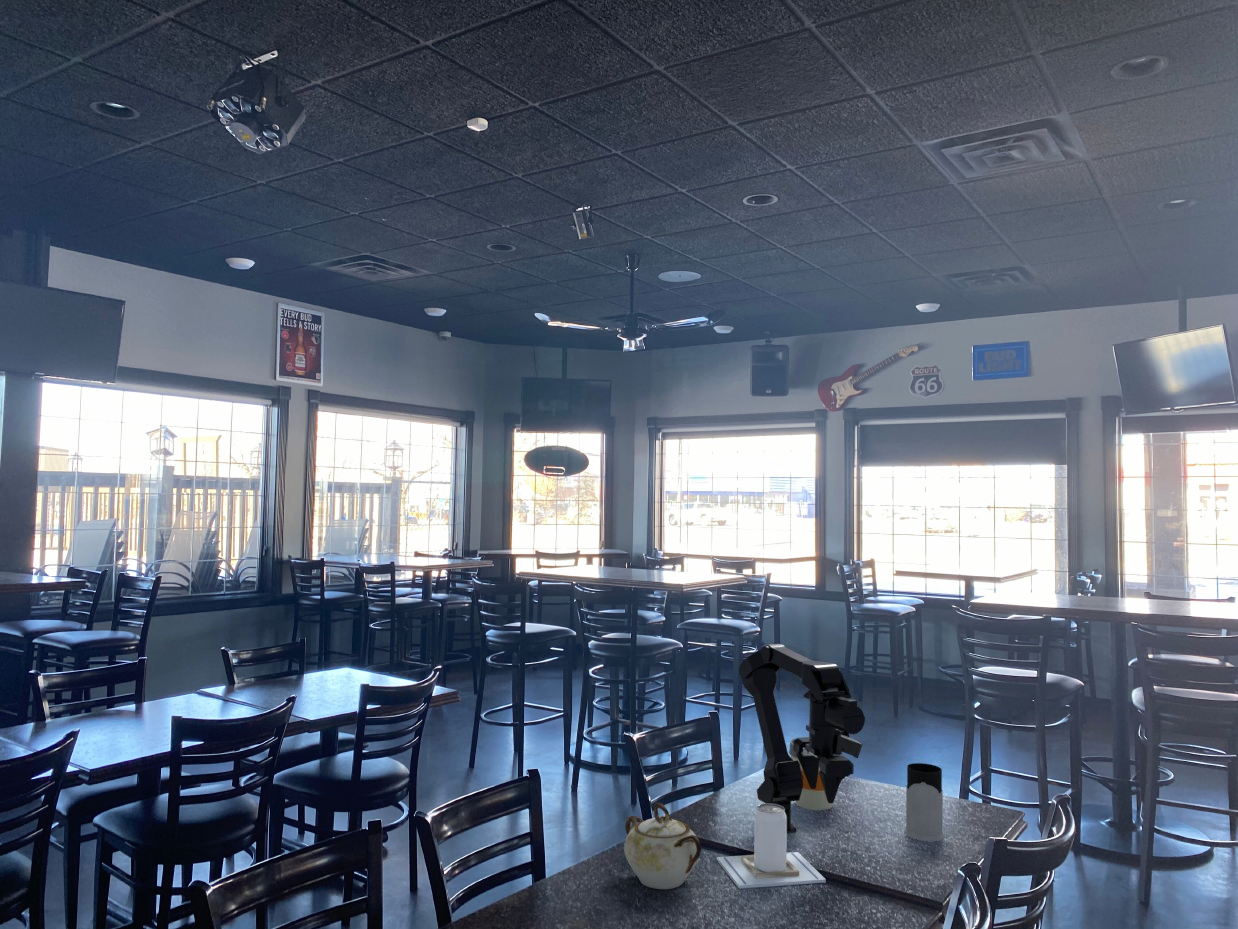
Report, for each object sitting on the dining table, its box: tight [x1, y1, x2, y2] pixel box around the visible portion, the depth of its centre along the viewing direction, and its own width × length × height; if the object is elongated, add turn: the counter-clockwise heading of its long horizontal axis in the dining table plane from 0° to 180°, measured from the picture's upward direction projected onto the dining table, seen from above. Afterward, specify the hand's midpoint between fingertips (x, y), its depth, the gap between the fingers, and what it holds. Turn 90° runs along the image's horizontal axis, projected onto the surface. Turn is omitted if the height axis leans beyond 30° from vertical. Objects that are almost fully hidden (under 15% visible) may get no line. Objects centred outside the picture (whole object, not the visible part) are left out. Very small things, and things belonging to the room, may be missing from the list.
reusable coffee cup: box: [788, 736, 841, 811], centre depth 224 cm, size 13×13×15 cm
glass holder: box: [903, 762, 945, 843], centre depth 207 cm, size 9×14×15 cm, turn 158°
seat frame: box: [741, 855, 799, 879], centre depth 183 cm, size 9×9×1 cm
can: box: [753, 803, 788, 872], centre depth 183 cm, size 6×6×12 cm
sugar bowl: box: [623, 802, 702, 890], centre depth 177 cm, size 20×15×15 cm
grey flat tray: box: [716, 851, 826, 890], centre depth 183 cm, size 14×18×1 cm
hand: (821, 795), depth 194 cm, fingers open, 9 cm apart
